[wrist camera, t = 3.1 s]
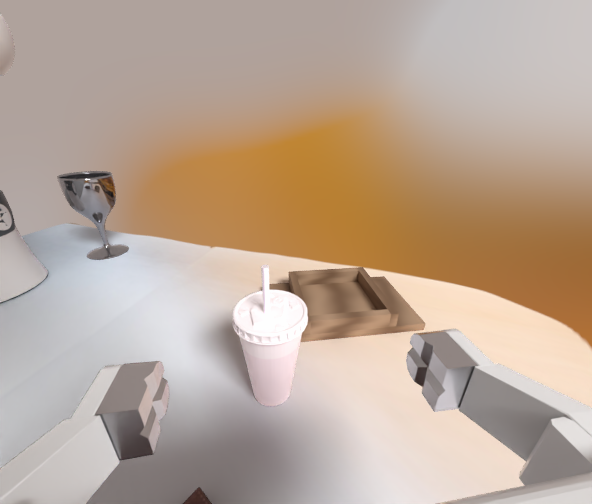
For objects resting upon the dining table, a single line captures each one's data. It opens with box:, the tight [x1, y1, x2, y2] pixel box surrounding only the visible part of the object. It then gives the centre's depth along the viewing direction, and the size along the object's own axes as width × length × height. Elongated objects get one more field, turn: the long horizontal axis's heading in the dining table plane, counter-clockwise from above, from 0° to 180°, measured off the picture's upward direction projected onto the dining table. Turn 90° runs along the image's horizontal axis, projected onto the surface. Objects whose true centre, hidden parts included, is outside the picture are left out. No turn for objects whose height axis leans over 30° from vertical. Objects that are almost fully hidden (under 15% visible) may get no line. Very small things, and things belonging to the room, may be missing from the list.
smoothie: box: [232, 265, 308, 407], centre depth 24 cm, size 6×6×14 cm
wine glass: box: [57, 171, 129, 260], centre depth 52 cm, size 8×8×15 cm
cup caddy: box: [269, 267, 425, 342], centre depth 39 cm, size 20×12×3 cm, turn 99°
